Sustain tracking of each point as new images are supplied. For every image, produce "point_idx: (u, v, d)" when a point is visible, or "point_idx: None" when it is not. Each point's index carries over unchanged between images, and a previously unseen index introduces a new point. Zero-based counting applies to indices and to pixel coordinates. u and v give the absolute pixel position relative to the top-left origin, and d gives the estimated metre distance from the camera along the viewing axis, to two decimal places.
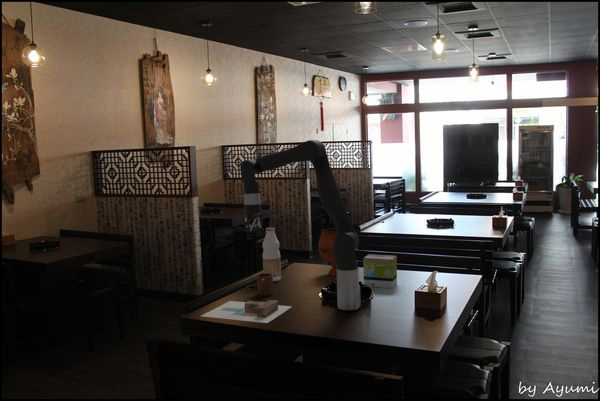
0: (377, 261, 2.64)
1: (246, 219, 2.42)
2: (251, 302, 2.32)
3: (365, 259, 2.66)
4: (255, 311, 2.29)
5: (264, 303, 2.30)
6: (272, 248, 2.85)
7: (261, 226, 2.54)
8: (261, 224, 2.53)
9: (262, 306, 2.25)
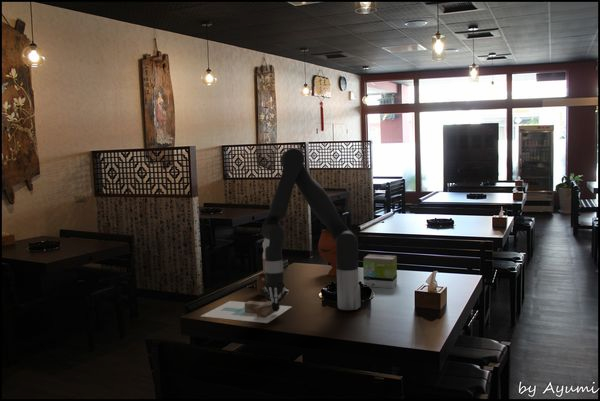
0: (377, 261, 2.64)
1: (288, 292, 2.24)
2: (251, 302, 2.32)
3: (365, 259, 2.66)
4: (255, 311, 2.29)
5: (264, 303, 2.30)
6: None
7: None
8: (271, 296, 2.29)
9: (262, 306, 2.25)
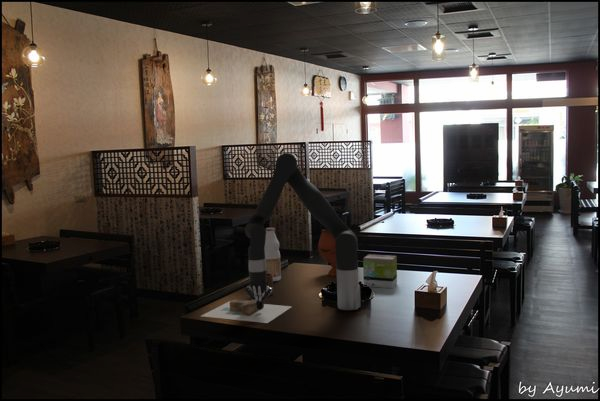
0: (377, 261, 2.64)
1: (271, 290, 2.28)
2: (236, 301, 2.35)
3: (365, 259, 2.66)
4: (240, 309, 2.32)
5: (249, 301, 2.33)
6: (272, 248, 2.85)
7: None
8: None
9: (246, 304, 2.29)
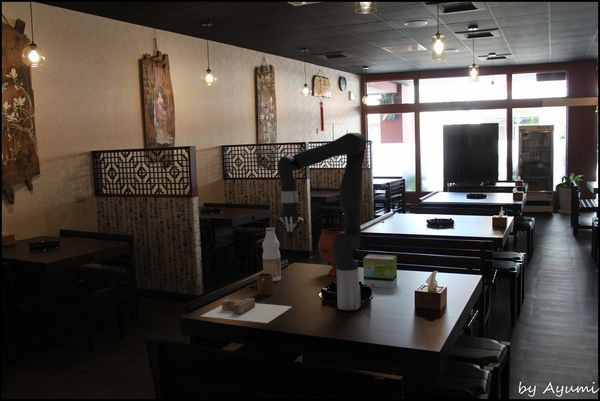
0: (377, 261, 2.64)
1: (302, 221, 2.39)
2: (228, 300, 2.37)
3: (365, 259, 2.66)
4: (232, 309, 2.34)
5: (241, 301, 2.35)
6: (272, 248, 2.85)
7: None
8: None
9: (238, 304, 2.30)
